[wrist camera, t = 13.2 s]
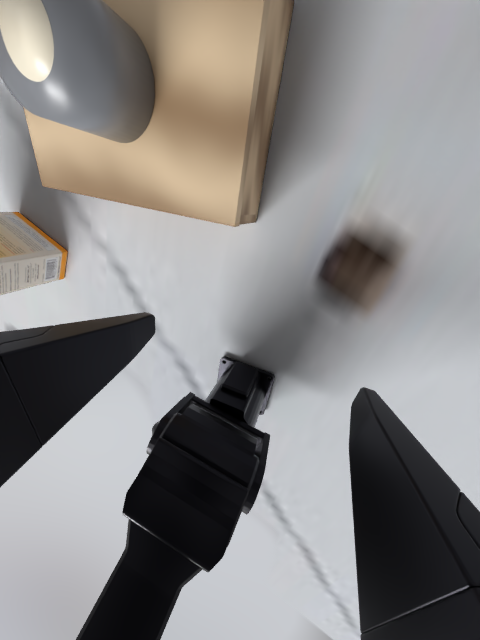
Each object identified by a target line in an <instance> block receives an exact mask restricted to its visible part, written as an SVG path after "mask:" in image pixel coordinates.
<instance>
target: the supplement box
mask: <svg viewBox="0 0 480 640" xmlns="http://www.w3.org/2000/svg"><path fill="white" fill-rule="evenodd" d="M67 253H68V252H67V251H66V250H65V249H64V248H63V247H61V246H60V245H59V244H58V243H56V242H55V241H54V240H53V239H51V238H50V237H49V236H48V235H46V234H45V233H44V232H43V231H41V230H40V229H39V228H38V227H36V226H35V225H34V224H33V223H31V222H30V221H29V220H28V219H26V218H25V217H24V216H23V215H21V214H20V213H19V212H0V295H3V294H7V293H10V292H14V291H18V290H22V289H26V288H30V287H33V286H37V285H41V284H45V283H49V282H52V281H56V280H60V279H64V277H65V269H66V262H67Z"/></svg>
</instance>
